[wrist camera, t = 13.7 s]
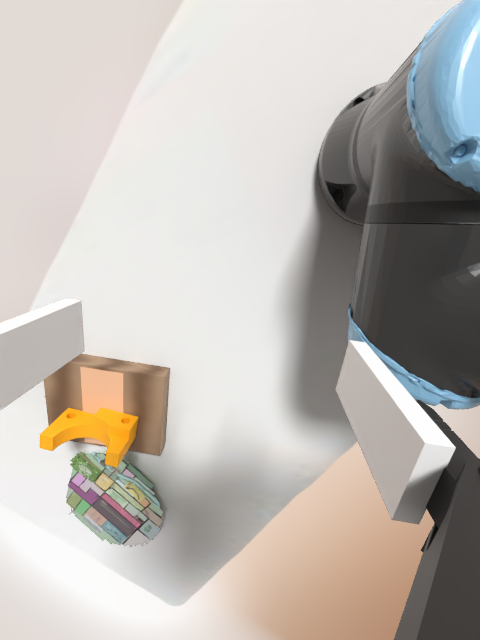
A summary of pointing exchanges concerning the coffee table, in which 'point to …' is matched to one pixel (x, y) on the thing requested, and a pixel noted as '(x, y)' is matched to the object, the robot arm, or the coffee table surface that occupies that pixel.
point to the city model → (113, 500)
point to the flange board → (113, 395)
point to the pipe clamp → (93, 431)
